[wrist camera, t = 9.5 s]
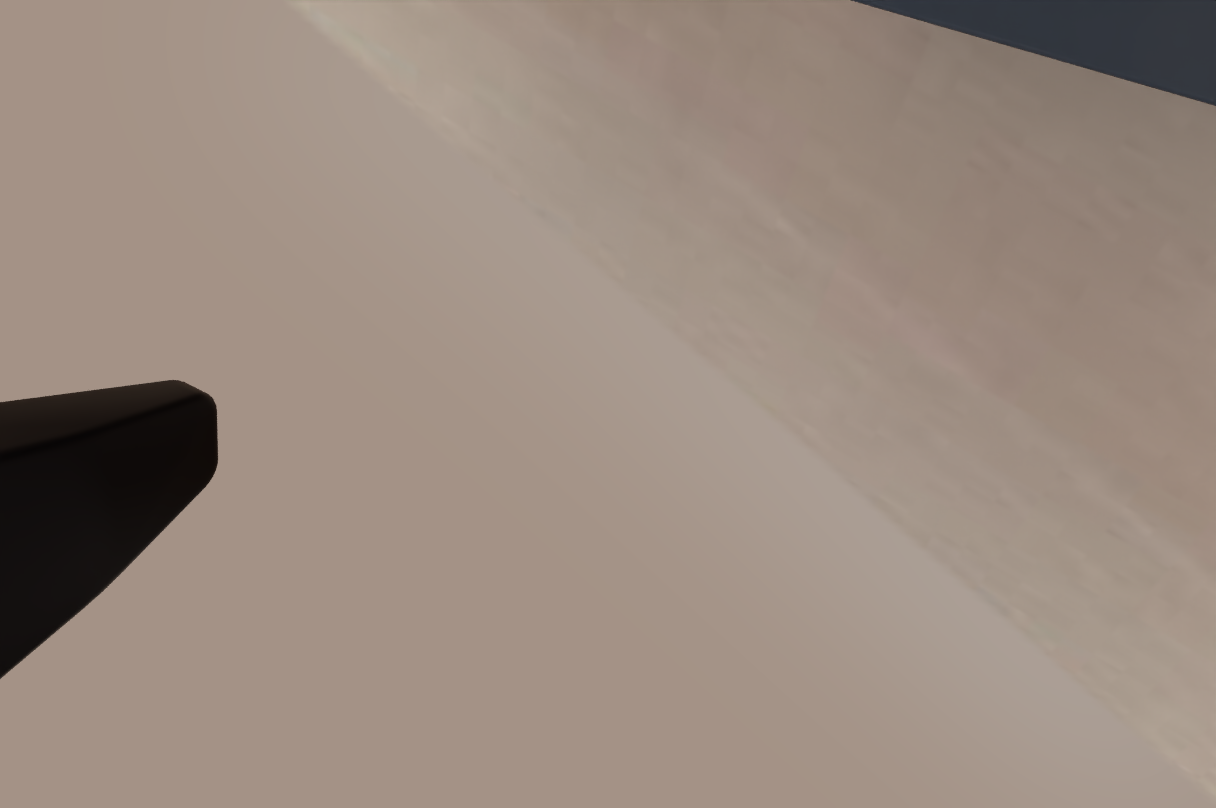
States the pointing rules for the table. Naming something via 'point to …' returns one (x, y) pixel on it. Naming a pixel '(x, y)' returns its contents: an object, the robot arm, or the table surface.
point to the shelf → (1093, 35)
